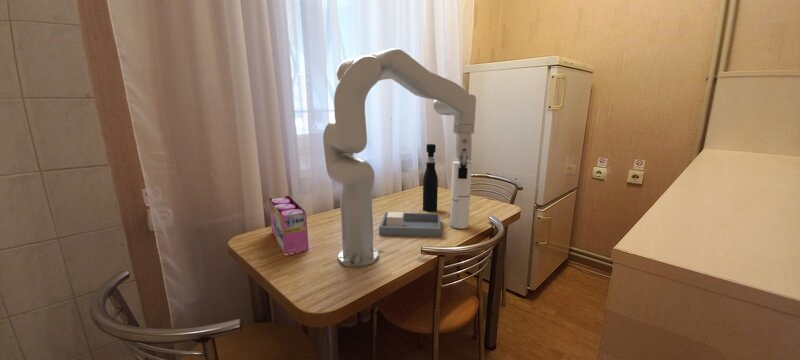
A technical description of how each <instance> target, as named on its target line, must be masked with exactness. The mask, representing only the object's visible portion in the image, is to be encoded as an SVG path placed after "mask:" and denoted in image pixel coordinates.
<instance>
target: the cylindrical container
mask: <svg viewBox="0 0 800 360" xmlns="http://www.w3.org/2000/svg"><path fill="white" fill-rule="evenodd" d="M458 168H459V161H458V160H455V161H454V160H453V161H452V166H451V170H452V171H451V190H450V191H451V192H450V213H449V214H450V215H449V226H450V227H451V228H454V229H467V228H468V227H469V220H470V219H469V218H470V217H469V216H470V204H471V202H470V201H471V188H472V187H471V183H472V171H473V170H472V168H473V162H472V161H469V160H467V179H459V178H458Z"/></svg>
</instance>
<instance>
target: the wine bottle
mask: <svg viewBox="0 0 800 360" xmlns="http://www.w3.org/2000/svg"><path fill="white" fill-rule="evenodd" d="M436 146H437V145H436V144H433V143H427V144H426V153H427V158H426V163H425V164H426V168H425V171H424V174H423V179H422V211H423V212H427V213H432V212H438V192H439V191H438V187H439V185H438V182H439V181H438V174H437V170H436V162H435V160H436V159H435V153H436V150H437V149H436Z"/></svg>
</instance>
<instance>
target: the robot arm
mask: <svg viewBox="0 0 800 360" xmlns="http://www.w3.org/2000/svg"><path fill="white" fill-rule="evenodd" d="M336 77H337V80H338V83H337V85H336V89H335V91H334V92H335V93H334V96H333V107H334V108H333V109H334V112H333V113H334V119H333V120H331V121H330V122H328V124H327V125H326V126H325V128H324V131H323V134H322V141H323V142H322V143H323V151H324V152H323V153H324V159H325V160H324V161H325V168H326V172H327V175H328V177H329V179H330V180H331V181H332V182H333V183H335V184H337V185H339V186H342V192H341V196H340V208H339V209H340V220H341V222H340V224H341V238H342V239H341V241H342V245H341V246H342V250H341V251H340V252H338V254H337V259H338V262H339V263H340V264H341V265H343V266H345V267H354V268H355V267H356V268H358V267H365V266H369V265H372V264H373V263H375V262H376V261H377V260H378V259H379V257H380V256H379V251H378V250H377V249H376V248H375V247H374V224H373V223H374V219H373V218H374V217H373V193H374V192H373V191H374V185H375V177H376V176H375V170H374V168H373V166H372V165H371V164H370V162H368V161H367V160H365V159H363V158H359V157H356V156H354V154H355V155H356V154H359V153H361V152H363V151H364V150H365V149H366V147H367V143H368V132H367V122H366V121H367V120H366V99H367V96H368V94H369V92H370V91H371V89H372V88H373V87H374V86H375V85H377V84H378V82H379V81H383V80H393V81H394V82H395V83H397V84H399V85H400V86H402V87H403V88H404V89H406V90H408V92H410V93H411V94H413V95H415V96H417V97H418V98H419V97H420V98H423V99H428V100H433V104H432V106H433V109H434V111H435V112H436V113H437V114H439V115H442V116H453V134H456V135H455V136H456V138H455V139H456V140H455V142H456V143H455V155H456V160H457V161H459V168H458V178H459V179H467V161H468V162H471V161H472V146H473V145H472V144H473V143H472V134H474V133H475V125H476V124H475V123H476V122H475V121H476V106H477V98H476V95H474V94H473V93H472V94H469V92H468V91H466V90H465V88H463V87H462V86H461V85H459V84H458V83H457V82H454V81H452V80H450V79H448V78H446V77H443V76H440V75H438V74H436V73H433V72H431V71H429V70H428V69H427V68H426V67H425V66H423V65H422V64H421V63H419V61H417V60H416V59H414V58H413V57H411V56H410V54H408V53H407V52H406V51H404V50H403V49H401V48H398V47H397V48H396V47H393V48H389V49H384V50H380V51H377V52H374V53H370V54H365V55H360V56H359V55H358V56H356V57H353V58H352V57H351V58H349V59H345V60H344V61H342V62H341V63H340V64H339V66H338V67H337V70H336Z"/></svg>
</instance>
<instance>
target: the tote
mask: <svg viewBox="0 0 800 360" xmlns="http://www.w3.org/2000/svg"><path fill="white" fill-rule="evenodd" d="M388 212H389V211H387V212H386V211H385V213H384V214H383V217H382V219H381V222H380V224H379V227H378V234H379V236H399V237H402V236H403V237H424V238H425V237H427V238H441V237H442V235H441V234H442V231H441V230H442V228H441V227H442V226H441V225H442V224H441V213H429V212H427V213H421V212H404V226H403V227H389V226H387V221H386V217H387V214H388Z"/></svg>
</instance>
